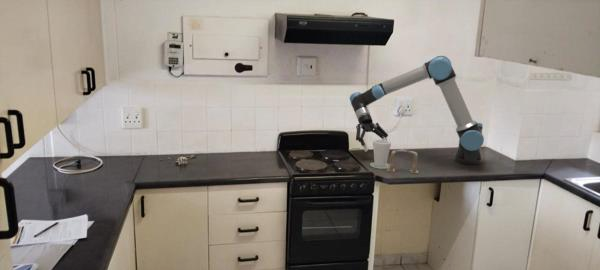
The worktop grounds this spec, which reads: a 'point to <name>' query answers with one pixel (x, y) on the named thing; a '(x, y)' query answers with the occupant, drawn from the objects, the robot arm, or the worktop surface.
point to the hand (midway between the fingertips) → (377, 149)
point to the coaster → (379, 166)
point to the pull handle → (413, 161)
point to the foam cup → (381, 152)
